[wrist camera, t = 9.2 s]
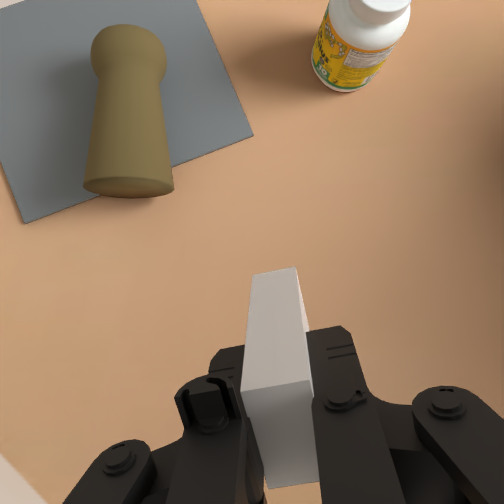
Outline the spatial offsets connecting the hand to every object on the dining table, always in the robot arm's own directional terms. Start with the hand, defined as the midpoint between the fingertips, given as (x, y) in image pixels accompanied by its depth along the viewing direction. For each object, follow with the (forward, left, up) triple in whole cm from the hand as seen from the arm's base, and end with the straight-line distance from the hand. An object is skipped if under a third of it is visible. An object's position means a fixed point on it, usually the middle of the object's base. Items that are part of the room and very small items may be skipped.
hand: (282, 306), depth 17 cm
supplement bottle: (-14, -15, -19) cm, 28 cm away
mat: (+4, -20, -19) cm, 28 cm away
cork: (+5, -10, -16) cm, 19 cm away
